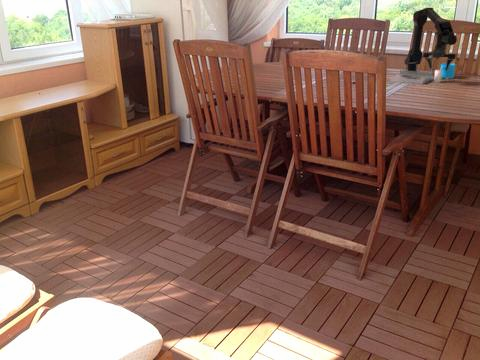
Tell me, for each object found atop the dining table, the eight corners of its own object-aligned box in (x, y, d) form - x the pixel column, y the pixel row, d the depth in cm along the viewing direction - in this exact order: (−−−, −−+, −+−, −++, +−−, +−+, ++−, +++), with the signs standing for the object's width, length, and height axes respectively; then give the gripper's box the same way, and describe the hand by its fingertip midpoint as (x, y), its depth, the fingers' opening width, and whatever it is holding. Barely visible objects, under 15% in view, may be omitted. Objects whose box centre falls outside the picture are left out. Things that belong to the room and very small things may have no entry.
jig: (400, 77, 319) (400, 70, 317) (431, 79, 307) (432, 72, 305) (390, 81, 307) (390, 74, 306) (422, 84, 296) (423, 76, 294)
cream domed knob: (435, 80, 303) (436, 69, 301) (441, 81, 301) (443, 69, 298) (433, 82, 300) (434, 70, 298) (439, 82, 298) (441, 70, 295)
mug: (445, 75, 317) (446, 62, 314) (456, 77, 311) (458, 64, 308) (433, 78, 311) (434, 65, 308) (444, 80, 305) (446, 66, 301)
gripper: (420, 44, 292) (418, 71, 298) (453, 45, 281) (450, 73, 287) (427, 41, 300) (424, 68, 306) (459, 43, 289) (456, 70, 295)
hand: (438, 69), depth 298 cm, fingers open, 9 cm apart
